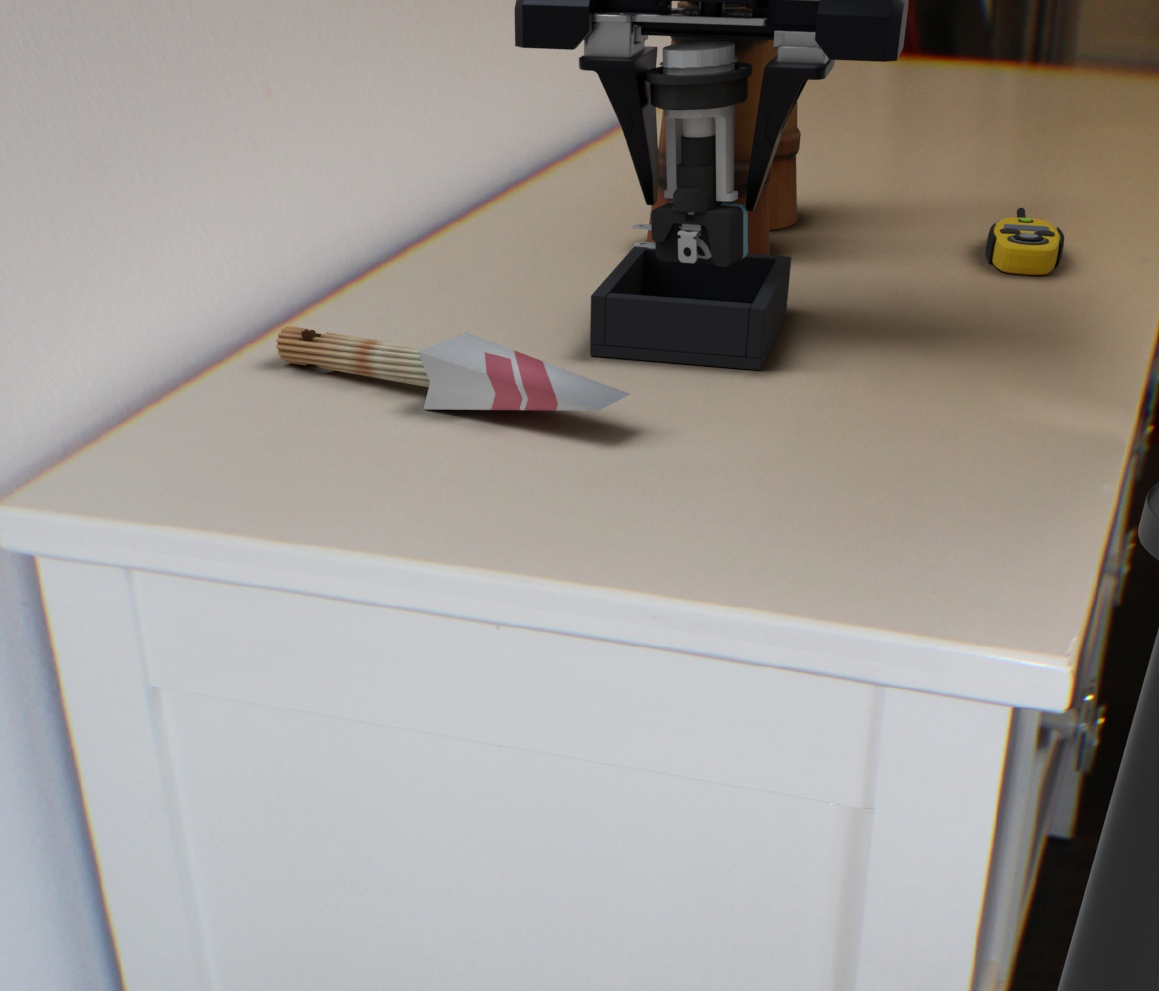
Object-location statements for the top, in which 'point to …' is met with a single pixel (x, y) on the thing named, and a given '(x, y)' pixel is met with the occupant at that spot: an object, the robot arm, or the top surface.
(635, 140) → the robot arm
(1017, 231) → the yellow walkie talkie
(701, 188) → the push button
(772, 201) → the binoculars
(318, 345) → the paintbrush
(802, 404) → the top surface
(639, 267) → the black hollow square tray
